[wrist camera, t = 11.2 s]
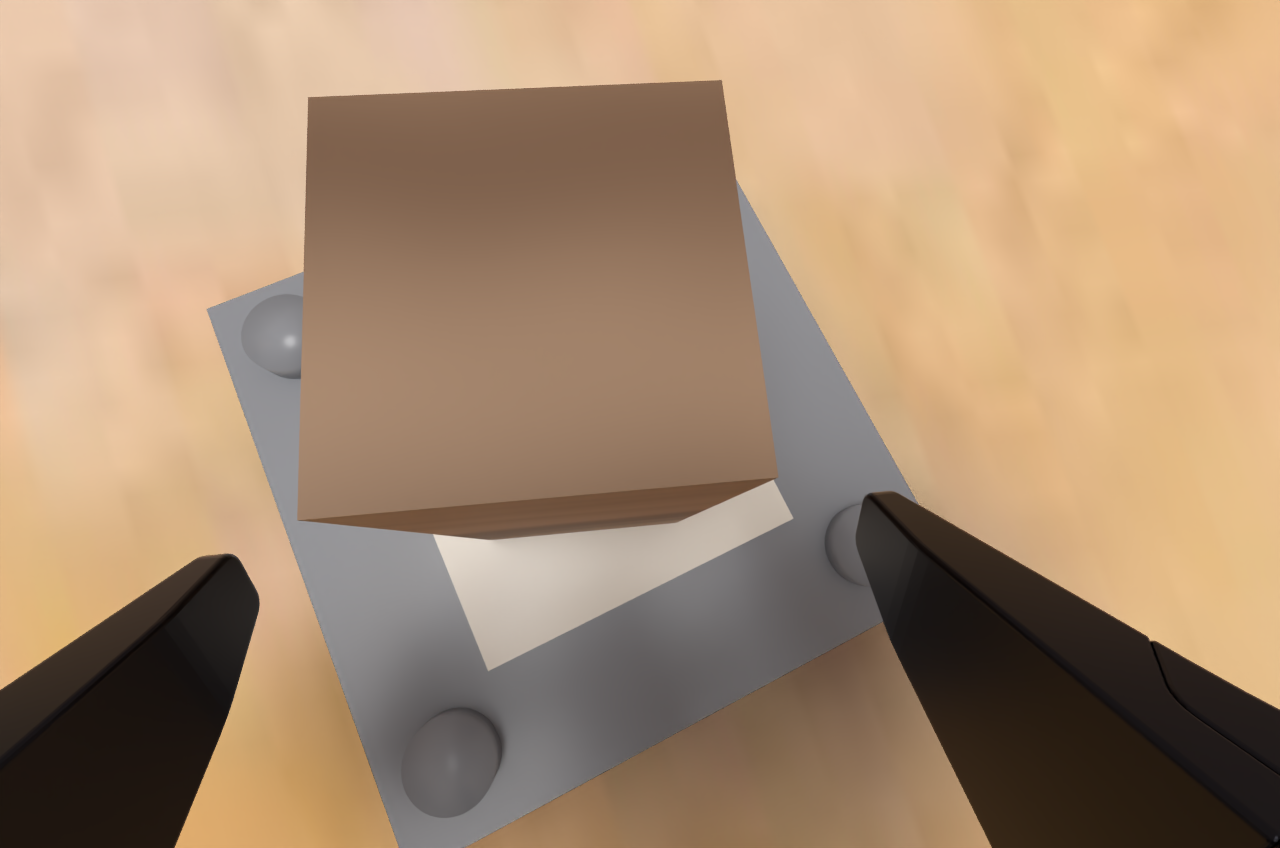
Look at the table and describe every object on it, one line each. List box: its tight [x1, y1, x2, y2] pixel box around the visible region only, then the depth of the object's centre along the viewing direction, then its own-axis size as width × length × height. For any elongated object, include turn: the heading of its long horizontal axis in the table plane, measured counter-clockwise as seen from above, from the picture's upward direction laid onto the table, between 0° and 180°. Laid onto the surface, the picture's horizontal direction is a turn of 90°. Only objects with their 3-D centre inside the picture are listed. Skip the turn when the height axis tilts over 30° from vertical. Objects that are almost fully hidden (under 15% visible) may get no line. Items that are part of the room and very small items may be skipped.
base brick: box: [207, 180, 919, 848], centre depth 18 cm, size 16×16×4 cm
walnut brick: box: [297, 80, 778, 540], centre depth 12 cm, size 5×5×10 cm
